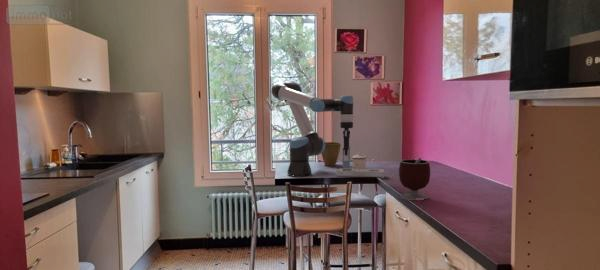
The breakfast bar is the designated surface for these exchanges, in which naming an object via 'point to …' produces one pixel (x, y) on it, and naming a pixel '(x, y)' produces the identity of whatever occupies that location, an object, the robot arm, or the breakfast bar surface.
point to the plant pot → (331, 153)
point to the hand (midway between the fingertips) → (346, 159)
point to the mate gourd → (414, 177)
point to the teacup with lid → (359, 161)
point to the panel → (361, 172)
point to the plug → (346, 163)
